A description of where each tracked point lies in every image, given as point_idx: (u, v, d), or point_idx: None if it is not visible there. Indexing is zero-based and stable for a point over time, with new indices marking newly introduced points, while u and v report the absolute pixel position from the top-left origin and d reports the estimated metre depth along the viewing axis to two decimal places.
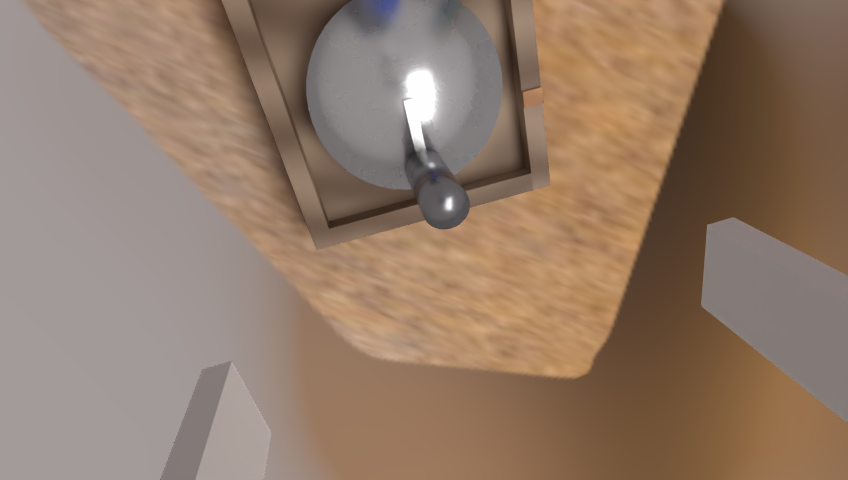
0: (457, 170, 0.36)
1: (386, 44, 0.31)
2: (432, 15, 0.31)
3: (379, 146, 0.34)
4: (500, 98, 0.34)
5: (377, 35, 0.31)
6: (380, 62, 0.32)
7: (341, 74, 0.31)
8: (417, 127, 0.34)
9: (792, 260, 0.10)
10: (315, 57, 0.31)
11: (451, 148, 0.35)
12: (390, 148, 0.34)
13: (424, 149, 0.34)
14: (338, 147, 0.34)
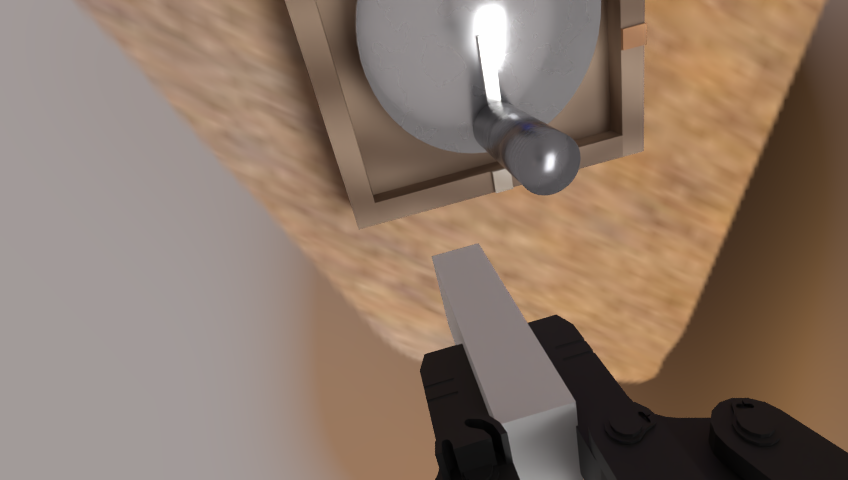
0: None
1: None
2: None
3: (443, 96, 0.27)
4: (596, 36, 0.27)
5: None
6: None
7: None
8: (492, 71, 0.27)
9: (487, 284, 0.12)
10: None
11: (531, 101, 0.28)
12: (457, 99, 0.27)
13: (499, 101, 0.27)
14: (392, 97, 0.27)
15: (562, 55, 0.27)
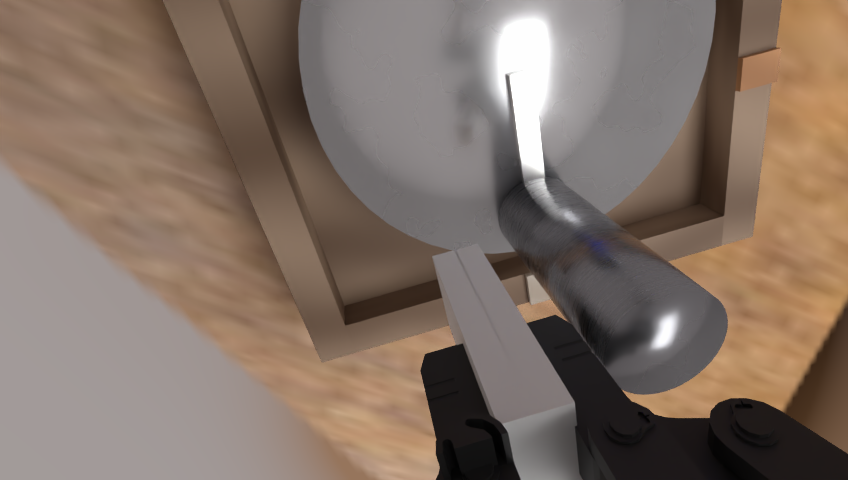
0: None
1: None
2: None
3: (450, 170, 0.16)
4: (702, 70, 0.16)
5: None
6: None
7: (378, 12, 0.14)
8: (533, 132, 0.16)
9: (486, 284, 0.12)
10: None
11: (592, 173, 0.17)
12: (473, 175, 0.17)
13: (542, 176, 0.17)
14: (367, 175, 0.16)
15: (645, 102, 0.17)
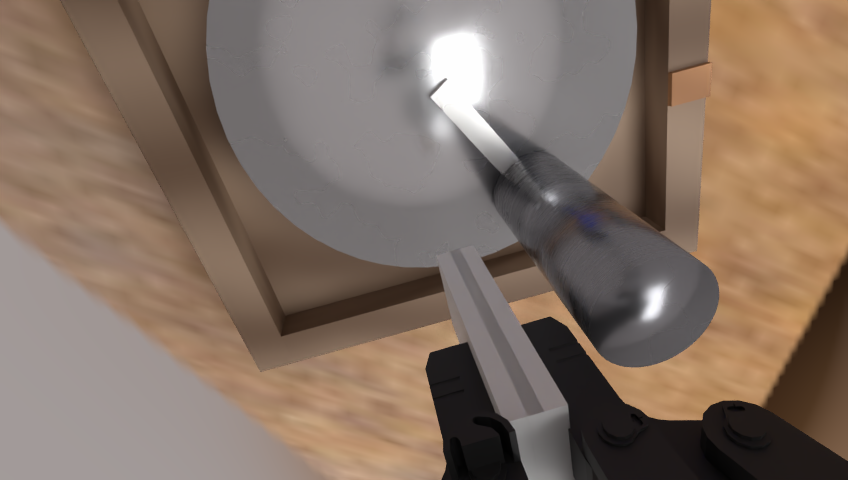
0: (596, 160, 0.17)
1: (337, 6, 0.14)
2: None
3: (430, 199, 0.17)
4: None
5: (310, 0, 0.14)
6: (346, 50, 0.14)
7: (291, 116, 0.15)
8: (482, 129, 0.16)
9: (481, 286, 0.12)
10: (227, 115, 0.15)
11: (566, 128, 0.17)
12: (452, 191, 0.17)
13: (516, 160, 0.16)
14: (363, 239, 0.17)
15: (582, 36, 0.15)
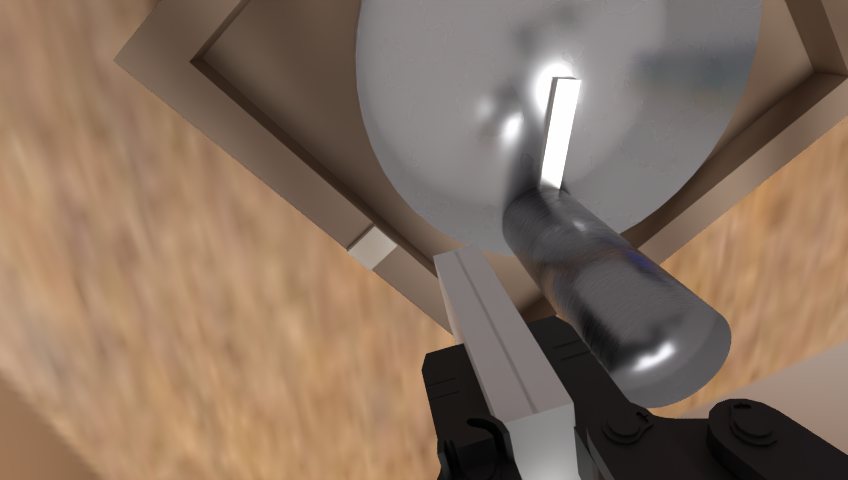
0: None
1: None
2: None
3: (474, 156, 0.16)
4: (722, 131, 0.17)
5: None
6: None
7: None
8: (562, 141, 0.16)
9: (485, 284, 0.12)
10: None
11: (601, 199, 0.18)
12: (493, 167, 0.17)
13: (557, 187, 0.17)
14: (393, 136, 0.15)
15: (666, 145, 0.17)
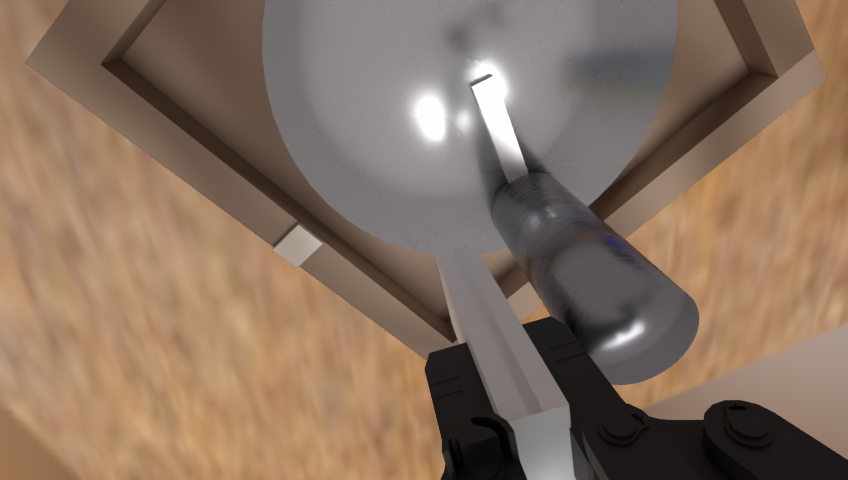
0: (591, 198, 0.18)
1: None
2: None
3: (435, 184, 0.17)
4: (673, 38, 0.16)
5: None
6: (411, 13, 0.14)
7: (334, 56, 0.15)
8: (507, 134, 0.16)
9: (482, 285, 0.12)
10: (271, 32, 0.14)
11: (577, 160, 0.18)
12: (458, 183, 0.17)
13: (525, 173, 0.17)
14: (358, 202, 0.17)
15: (618, 81, 0.16)
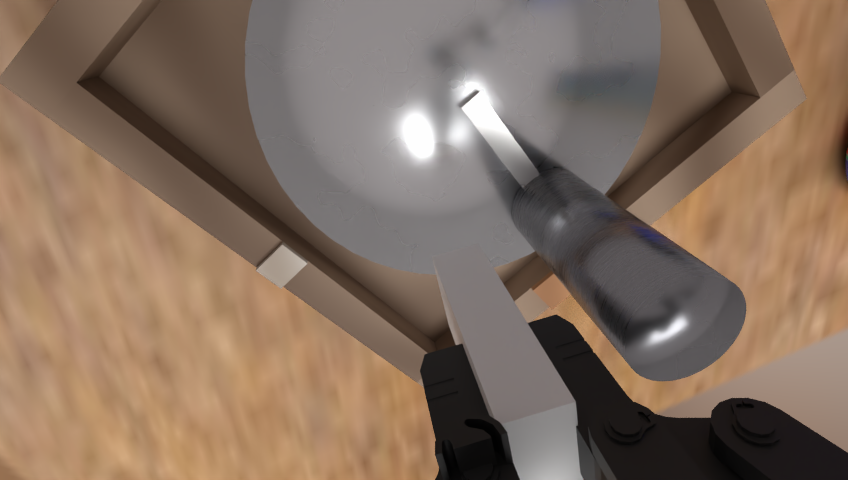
0: (611, 179, 0.18)
1: (379, 13, 0.14)
2: None
3: (451, 207, 0.17)
4: (655, 0, 0.15)
5: (353, 4, 0.14)
6: (384, 56, 0.15)
7: (322, 117, 0.15)
8: (508, 142, 0.16)
9: (487, 284, 0.12)
10: (259, 112, 0.15)
11: (586, 147, 0.17)
12: (473, 201, 0.17)
13: (537, 175, 0.17)
14: (381, 244, 0.17)
15: (609, 59, 0.16)
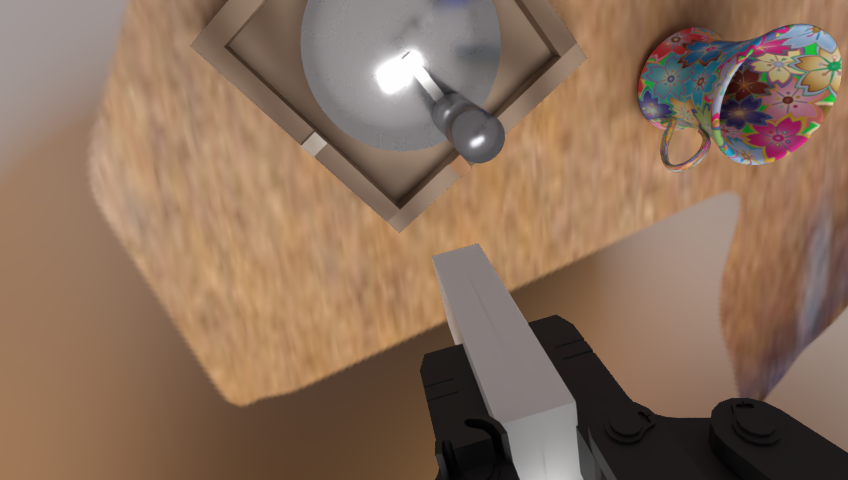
0: (483, 99, 0.35)
1: (362, 14, 0.31)
2: None
3: (400, 113, 0.34)
4: (493, 8, 0.32)
5: (350, 10, 0.31)
6: (364, 34, 0.31)
7: (335, 63, 0.32)
8: (426, 77, 0.33)
9: (487, 284, 0.12)
10: (306, 61, 0.31)
11: (468, 81, 0.34)
12: (411, 109, 0.34)
13: (442, 95, 0.34)
14: (365, 132, 0.34)
15: (474, 36, 0.33)
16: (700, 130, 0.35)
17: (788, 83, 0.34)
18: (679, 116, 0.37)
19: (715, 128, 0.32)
